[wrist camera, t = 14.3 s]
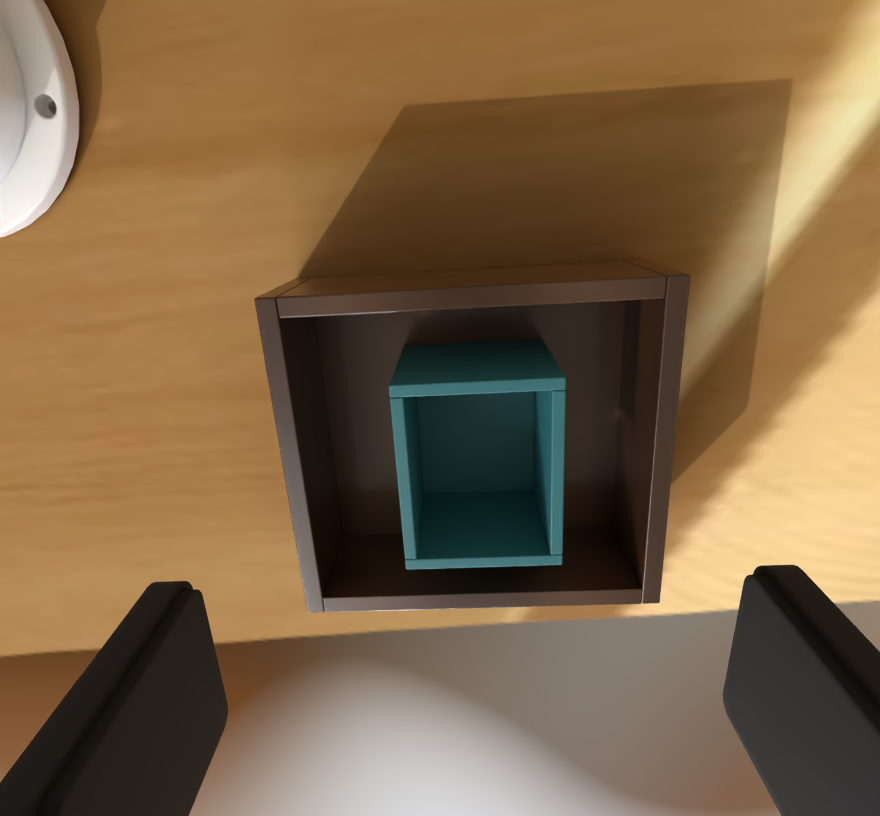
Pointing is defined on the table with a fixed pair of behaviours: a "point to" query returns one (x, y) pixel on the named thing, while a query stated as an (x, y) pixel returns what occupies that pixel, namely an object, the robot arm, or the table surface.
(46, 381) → the table surface
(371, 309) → the crate
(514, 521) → the box
